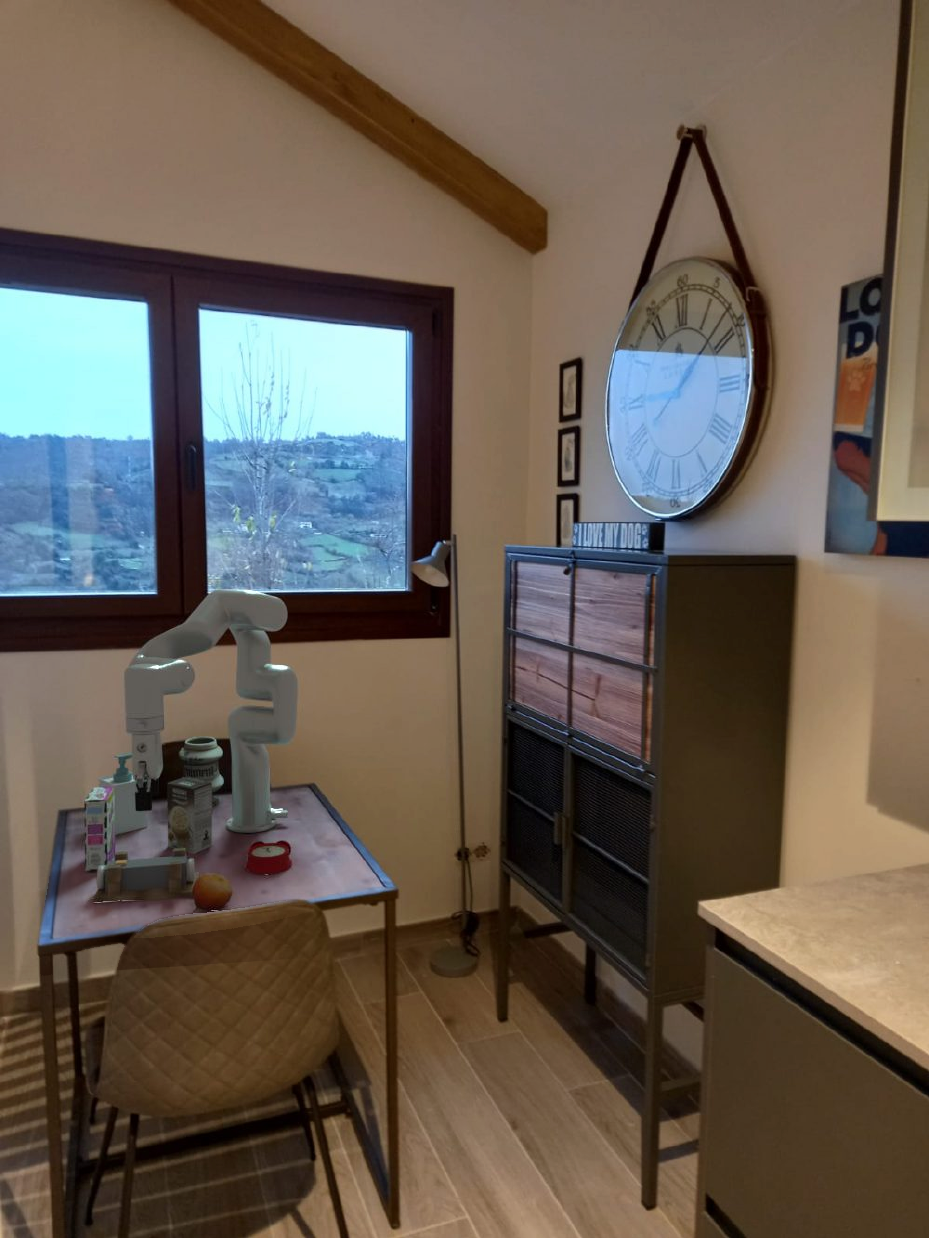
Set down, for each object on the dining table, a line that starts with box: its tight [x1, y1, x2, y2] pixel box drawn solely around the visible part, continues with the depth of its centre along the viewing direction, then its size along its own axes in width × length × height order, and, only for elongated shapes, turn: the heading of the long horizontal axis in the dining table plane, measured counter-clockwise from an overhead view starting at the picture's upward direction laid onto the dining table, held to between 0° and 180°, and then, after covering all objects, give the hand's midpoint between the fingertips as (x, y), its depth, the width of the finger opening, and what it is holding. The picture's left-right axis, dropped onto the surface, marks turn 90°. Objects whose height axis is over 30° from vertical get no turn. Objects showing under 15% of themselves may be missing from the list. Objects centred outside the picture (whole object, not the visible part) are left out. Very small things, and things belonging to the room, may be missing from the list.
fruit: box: [192, 872, 233, 913], centre depth 174 cm, size 8×8×8 cm
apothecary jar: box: [178, 736, 224, 807], centre depth 240 cm, size 12×12×18 cm
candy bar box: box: [83, 786, 116, 873], centre depth 196 cm, size 11×5×16 cm, turn 13°
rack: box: [92, 848, 201, 903], centre depth 182 cm, size 20×10×7 cm, turn 102°
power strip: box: [96, 854, 195, 893], centre depth 182 cm, size 19×5×6 cm, turn 105°
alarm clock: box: [244, 839, 293, 875], centre depth 198 cm, size 10×6×15 cm
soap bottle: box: [98, 752, 148, 836], centre depth 219 cm, size 9×9×19 cm
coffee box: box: [166, 776, 213, 855], centre depth 207 cm, size 9×6×16 cm
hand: (147, 802), depth 180 cm, fingers open, 9 cm apart
